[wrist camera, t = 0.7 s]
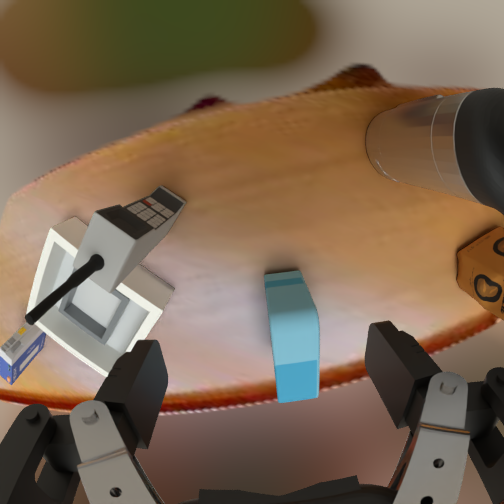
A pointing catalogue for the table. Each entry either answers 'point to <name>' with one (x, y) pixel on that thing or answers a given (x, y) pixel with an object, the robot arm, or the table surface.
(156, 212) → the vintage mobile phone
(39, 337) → the walkman
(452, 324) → the table surface
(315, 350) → the data package
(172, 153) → the table surface
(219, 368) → the table surface
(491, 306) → the coffee package
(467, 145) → the robot arm
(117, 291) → the box
